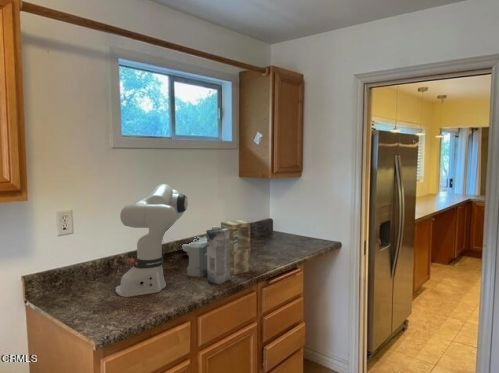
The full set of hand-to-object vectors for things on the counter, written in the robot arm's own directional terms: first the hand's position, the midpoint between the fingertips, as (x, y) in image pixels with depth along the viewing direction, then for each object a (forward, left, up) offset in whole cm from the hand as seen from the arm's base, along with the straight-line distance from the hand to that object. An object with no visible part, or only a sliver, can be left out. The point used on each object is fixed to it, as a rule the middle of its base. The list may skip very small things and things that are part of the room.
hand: (203, 247), depth 226 cm
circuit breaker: (-15, -28, -6) cm, 32 cm away
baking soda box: (+22, 0, -6) cm, 22 cm away
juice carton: (-14, -42, -6) cm, 45 cm away
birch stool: (+2, -33, -6) cm, 33 cm away
